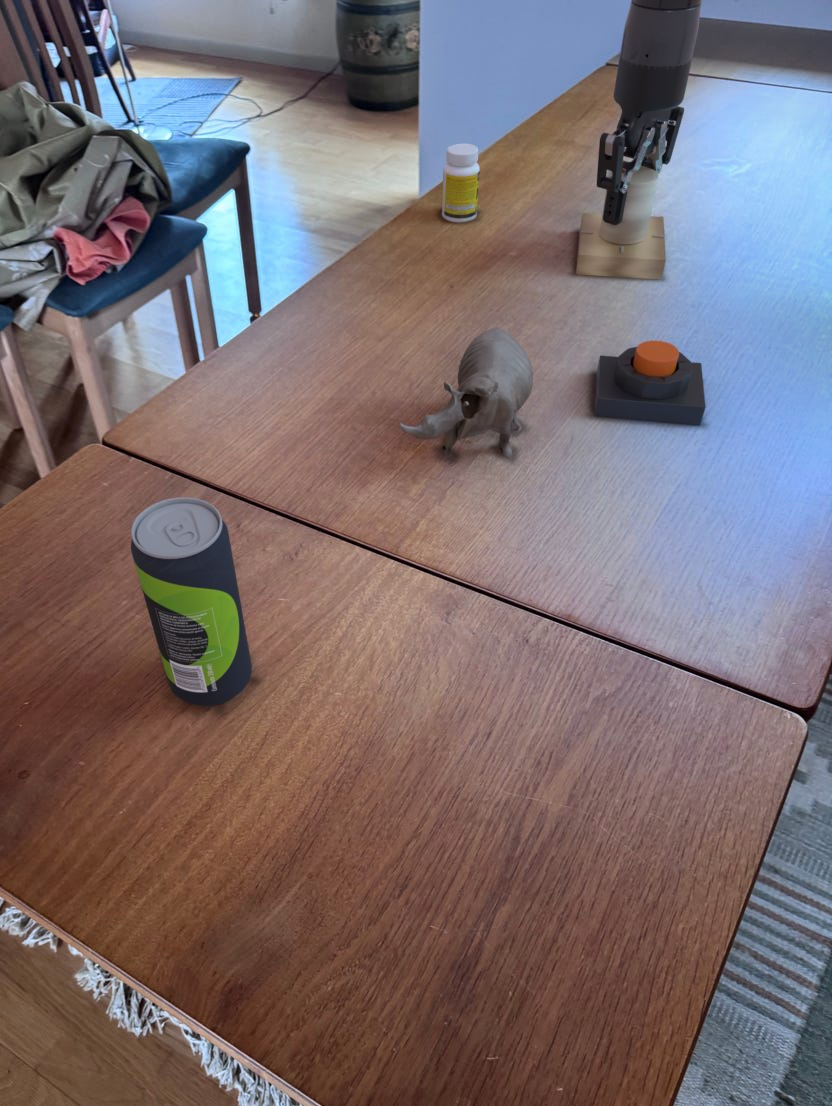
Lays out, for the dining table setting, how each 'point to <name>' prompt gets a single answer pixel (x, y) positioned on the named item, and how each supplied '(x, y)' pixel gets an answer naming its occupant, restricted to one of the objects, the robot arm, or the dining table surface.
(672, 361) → the button
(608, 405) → the button box
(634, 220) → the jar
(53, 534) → the dining table surface
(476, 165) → the supplement bottle
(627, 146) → the robot arm
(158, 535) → the beverage can
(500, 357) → the rhinoceros figurine
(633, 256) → the tan square base
